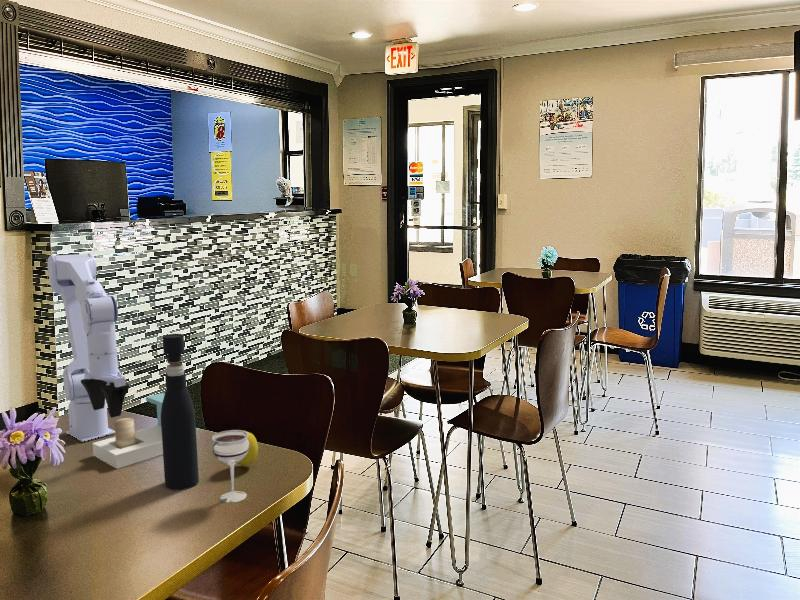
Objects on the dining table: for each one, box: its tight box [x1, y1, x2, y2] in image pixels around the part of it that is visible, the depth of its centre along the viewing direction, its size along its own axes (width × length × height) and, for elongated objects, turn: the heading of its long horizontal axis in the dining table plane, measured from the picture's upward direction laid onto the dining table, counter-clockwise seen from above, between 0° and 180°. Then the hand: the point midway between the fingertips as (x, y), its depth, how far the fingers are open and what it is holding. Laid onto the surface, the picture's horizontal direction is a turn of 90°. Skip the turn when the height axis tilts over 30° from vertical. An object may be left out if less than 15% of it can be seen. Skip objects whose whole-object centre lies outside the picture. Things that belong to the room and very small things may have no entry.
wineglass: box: [211, 429, 249, 504], centre depth 125 cm, size 7×7×12 cm
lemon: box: [236, 430, 259, 468], centre depth 139 cm, size 6×6×8 cm
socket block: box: [92, 392, 165, 470], centre depth 148 cm, size 11×17×10 cm, turn 139°
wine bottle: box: [161, 333, 200, 491], centre depth 129 cm, size 6×6×30 cm
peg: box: [114, 417, 136, 449], centre depth 146 cm, size 4×4×8 cm
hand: (107, 412), depth 145 cm, fingers open, 7 cm apart
